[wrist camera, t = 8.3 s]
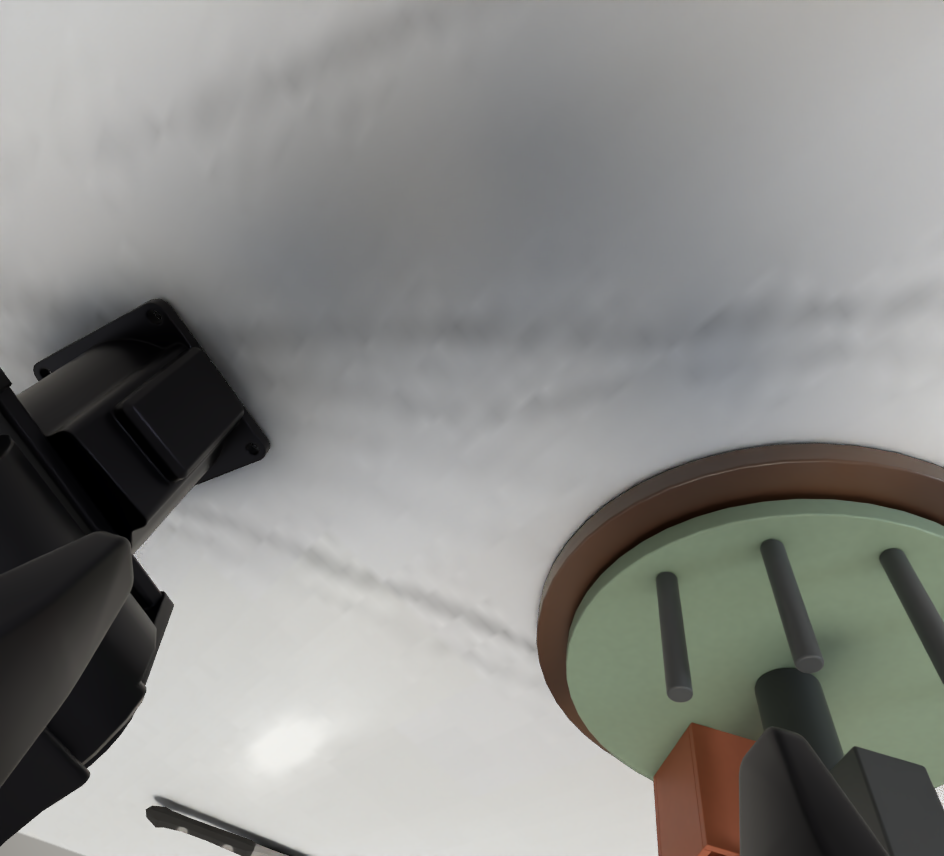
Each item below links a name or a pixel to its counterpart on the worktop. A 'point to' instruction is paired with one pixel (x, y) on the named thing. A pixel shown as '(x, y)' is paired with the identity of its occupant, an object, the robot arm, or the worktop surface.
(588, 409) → the worktop surface
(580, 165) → the worktop surface
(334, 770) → the worktop surface
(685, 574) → the drying rack
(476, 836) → the worktop surface
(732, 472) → the turntable base
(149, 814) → the chef's knife
